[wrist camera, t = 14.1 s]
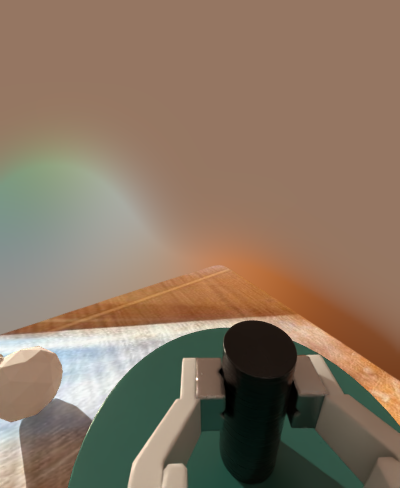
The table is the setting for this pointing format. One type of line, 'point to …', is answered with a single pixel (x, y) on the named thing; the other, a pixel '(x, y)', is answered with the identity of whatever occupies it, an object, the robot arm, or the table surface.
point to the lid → (236, 415)
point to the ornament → (28, 382)
